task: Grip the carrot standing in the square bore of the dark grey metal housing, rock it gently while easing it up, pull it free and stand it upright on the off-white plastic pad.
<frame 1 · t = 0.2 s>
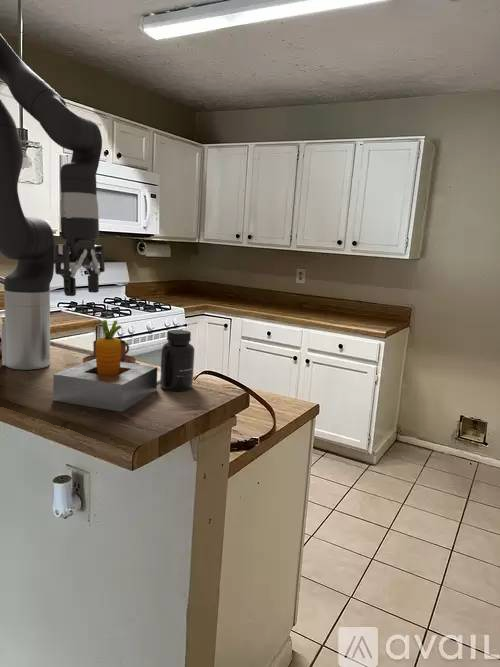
hand: (82, 294, 104), 18 cm above the countertop, tool pointing down, fingers open, 8 cm apart
carrot: (107, 396, 95), resting in metal housing
cup and saucer: (109, 368, 115), on the countertop
supplement bottle: (176, 388, 103), on the countertop
metal housing: (107, 395, 95), on the countertop
plastic pad: (147, 377, 109), on the countertop
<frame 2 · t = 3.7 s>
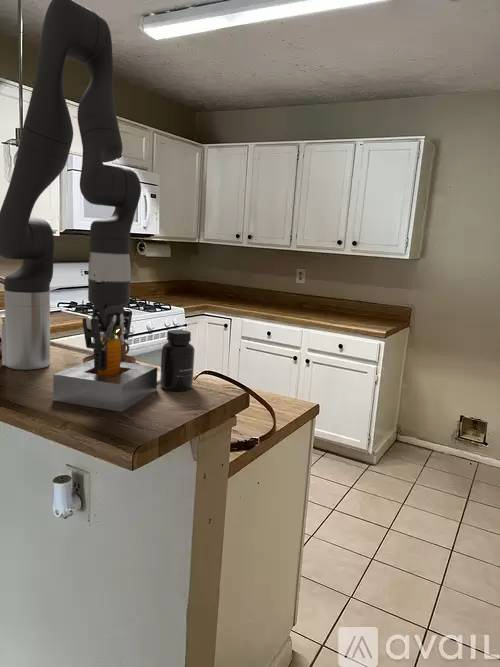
hand: (108, 366, 93), 6 cm above the countertop, tool pointing down, fingers closed on carrot, 5 cm apart
carrot: (107, 396, 95), resting in metal housing, touching gripper
everything else where it was.
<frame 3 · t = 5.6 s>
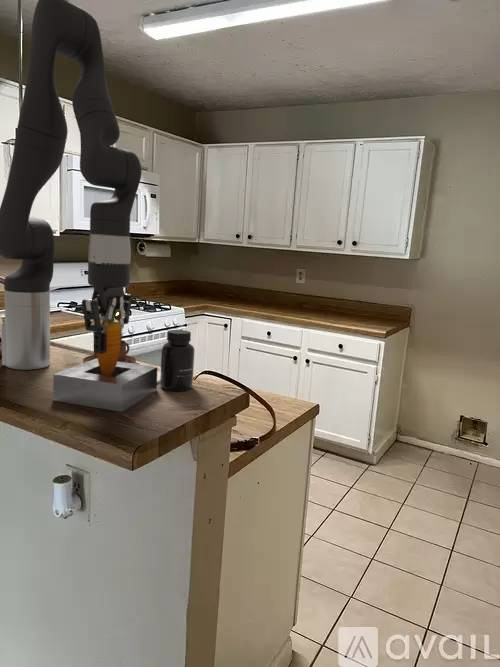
hand: (107, 349, 93), 9 cm above the countertop, tool pointing down, fingers closed on carrot, 5 cm apart
carrot: (107, 380, 94), point 3 cm above the countertop, touching gripper
everything else where it was.
when the fingers open (7 cm above the countertop, at t = 12.7 s): carrot stays where it is, resting on plastic pad.
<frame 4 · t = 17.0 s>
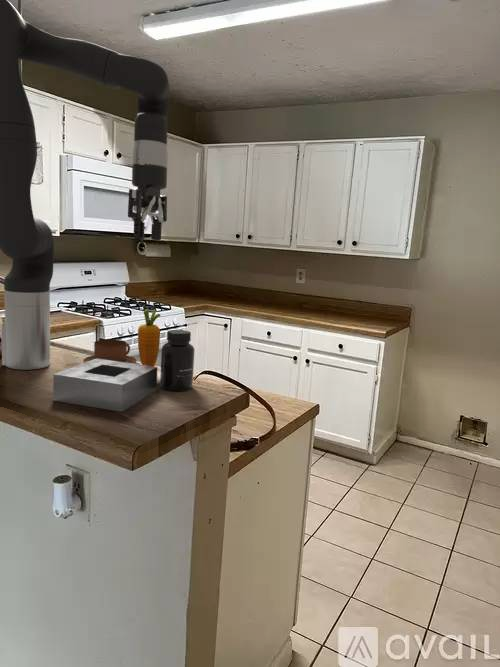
hand: (147, 239, 110), 30 cm above the countertop, tool pointing down, fingers open, 8 cm apart
carrot: (147, 375, 109), resting on plastic pad
everything else where it was.
at the end: carrot inside the target area (0.1 cm from its centre), resting on plastic pad; carrot tilted 0°; the gripper is holding nothing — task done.
